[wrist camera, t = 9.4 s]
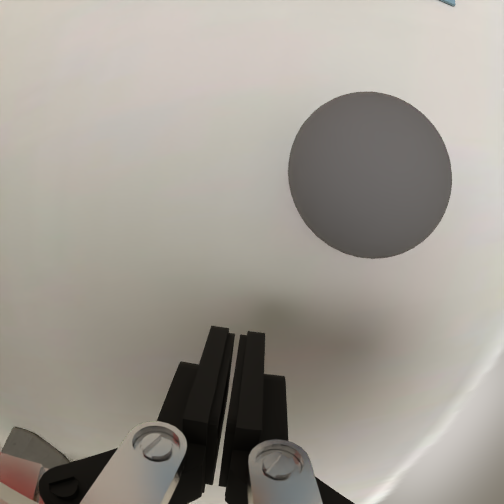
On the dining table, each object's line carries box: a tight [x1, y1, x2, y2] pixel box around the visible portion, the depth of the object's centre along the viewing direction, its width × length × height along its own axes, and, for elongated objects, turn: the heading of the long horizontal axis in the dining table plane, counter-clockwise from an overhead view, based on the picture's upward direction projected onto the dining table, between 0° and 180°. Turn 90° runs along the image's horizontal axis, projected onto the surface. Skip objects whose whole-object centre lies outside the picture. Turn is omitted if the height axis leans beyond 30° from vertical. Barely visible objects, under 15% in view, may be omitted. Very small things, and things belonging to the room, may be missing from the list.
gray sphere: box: [288, 92, 452, 259], centre depth 10 cm, size 6×6×6 cm
